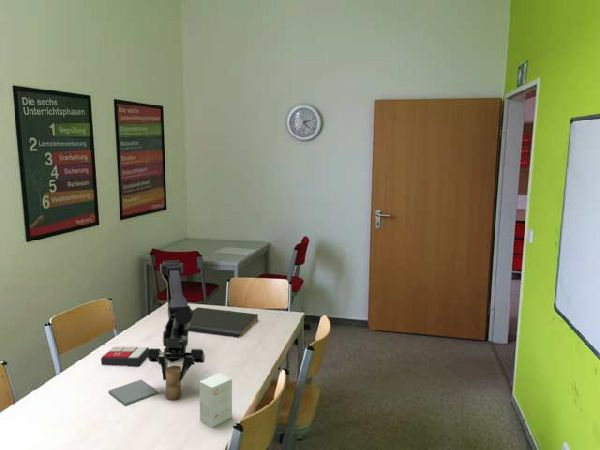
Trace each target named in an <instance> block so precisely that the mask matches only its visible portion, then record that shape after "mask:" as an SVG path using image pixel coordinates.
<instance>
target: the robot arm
mask: <svg viewBox="0 0 600 450" xmlns="http://www.w3.org/2000/svg"><path fill="white" fill-rule="evenodd" d="M183 264H184V263H182V262H180V261H179V260H163V261H162V263H160V265H159V272H160V274H161V278H162V279H163V280H164V282H165V283H166V295H167V296H166V299H167V317H168V320H167V322H166V324H165V326H164V331H163V332H162V333H163V334H162V343H163V346H164V347H165V348H164V351H162V350H161V348H149V350H148V352H147V357H148V358H147V359H148V361H150V362H151V363H158V364H159V365H160V366H161V372H162V378H163V379H162V380H163V381H165V382H166V368H167V367H169V366H168V365H169V363H168V361H169V362H171V363H174V362H177V361H179V360H183V363H182V367H181V374H180V381H181V382H182V381H183V379H184V376H185V375H186V373H187V372H188V370H189V369H190V367H192V365H195V364H196V363H197V364H198V363H199V364H200V363H201V364H202V363H205V359H206V357H205V356H206V355H205V353H204V352H205V351H204V350H203V349H202V348H192V349H191V351H190V352H186V351H187V350H186V349H187V346H188V344H189V332H190V331H189V327H190V323H191V319H192V315H193V311H192V310H193V309H192V308H191V306H190V305H188V299H187V298H186V297H185V296H184V294H183V287H182V280H181V279H182V278H181V275H182V274H183V273H184V267H183V266H184V265H183Z"/></svg>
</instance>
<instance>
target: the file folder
mask: <svg viewBox="0 0 600 450" xmlns="http://www.w3.org/2000/svg"><path fill="white" fill-rule="evenodd" d="M192 311H193V315H192V319H191V323H190V327H189V332H194V333H195V332H196V333H204V334H210V335H218V336H224V337H225V336H226V337H231V336H233V338H239V336H241V337H242V336H243V335H244V334H245V333H246V332H247V331H248V330H250V329H251V328H252V327H251V326H252V325H253V324H254V323H255V322H256V321H257V322H258V321H259V318H258V316H259V315H258V314H257V313H248V312H241V311H240V312H239V311H233V310H226V309H215V308H206V307H198V306H197V307H196V308H195V309H192ZM257 322H256V323H257ZM256 323H255V324H256ZM255 324H254V325H255ZM254 325H253V326H254ZM250 327H251V328H250ZM247 329H248V330H247ZM245 331H246V332H245ZM244 332H245V333H244ZM243 333H244V334H243Z"/></svg>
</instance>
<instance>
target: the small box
mask: <svg viewBox="0 0 600 450" xmlns="http://www.w3.org/2000/svg"><path fill="white" fill-rule="evenodd" d="M198 382H199V384H198V385H199V387H198V389H199V391H198V393H199V420H200V421H201V422H202V423H203V424H205V425H207V426H208V427H211V428H212V429H213V428H215V427H216V426H218V425H221V424H222V423H224V422H226V421H227V420H229V419H232V418H233V378H231V377H230V376H227V375H225V374H223V373H221V372H218V373H215V374H213V375H211V376H209V377H206V378H204V379H202V380H200V381H199V380H198Z"/></svg>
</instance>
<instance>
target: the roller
mask: <svg viewBox="0 0 600 450" xmlns="http://www.w3.org/2000/svg"><path fill="white" fill-rule="evenodd" d="M181 370H182V367H181V366H179V365H170V366H167V368H166V380H165V399H166V400H168V401H177V400H179V399H181V398H182V381H180V374H181Z"/></svg>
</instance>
